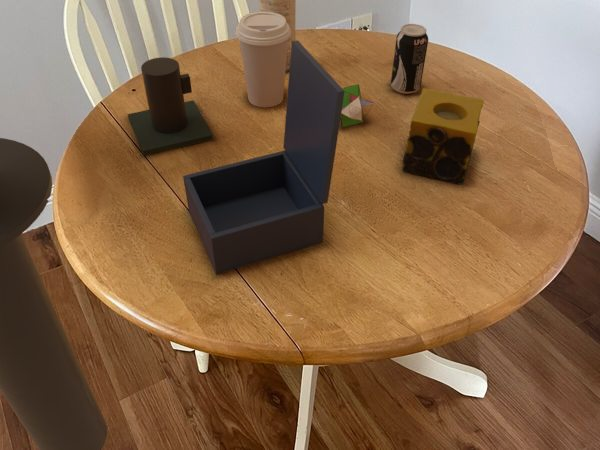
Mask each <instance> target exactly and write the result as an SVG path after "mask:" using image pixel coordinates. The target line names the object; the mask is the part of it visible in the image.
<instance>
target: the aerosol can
mask: <svg viewBox="0 0 600 450" xmlns="http://www.w3.org/2000/svg"><path fill="white" fill-rule="evenodd" d="M258 3H259V12H261V11H267V12H274V13H277V14H280V15H282V16H283V17H284V18H285V19H286V22H287V23H288V25H289V27H290V30H291V35H290V37H289V38H288V44H287V55H286V68H285V73H288V72H289V71H290V59H291V47H292V41H296V12H297V11H296V6H297V5H296V4H297V3H296V0H259V2H258Z"/></svg>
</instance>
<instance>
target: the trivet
mask: <svg viewBox="0 0 600 450" xmlns="http://www.w3.org/2000/svg"><path fill="white" fill-rule="evenodd" d="M184 102H185V109H186V116H187V122H188V123H187V126H186V127H185V128H184V129H183V130H181V131H179V132H177V133H172V134H163V133H159V132H157V131H155V130H154V129H153V126H152V121H151V116H150V111H149V109H145V110H139V111H136V112H131V113H127V117H128V120H129V122H130V126H131V127H132V130H133V133H134V135H135V138H136V140H137V143H138V145H139V148H140V151H141V154H142V156H145V157H146V156H149V155H153V154H157V153H162V152H166V151H170V150H174V149H179V148H183V147H187V146H191V145H195V144H200V143H204V142H209V141H212V140H213V141H214V135H213V133H212V131H211V129H210V127H209V125H208V124H207V122H206V120H205V119H204V117H203V115H202V113H201V111H200V109H199V107H198V106H197V104H196V102H195V100H188V101H184Z"/></svg>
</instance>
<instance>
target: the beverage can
mask: <svg viewBox="0 0 600 450" xmlns="http://www.w3.org/2000/svg"><path fill="white" fill-rule="evenodd" d="M428 44H429V36H428V34H427V28H426V27H425V26H423V25H422V24H418V23H407V24H404V25H402V26H401V27H400V31H398V33H397V34H396V39H395V47H394V52H393V53H394V54H393V63H392V69H391V78H390V87H391V88H392V89H393V90H394V91H396V92H397V93H400V94H403V95H409V94H413V93H416V92H418V91H419V90H420V89H421V87H422V80H423V75H424V70H425V69H424V68H425V63H426V58H427V52H428V51H427V50H428Z"/></svg>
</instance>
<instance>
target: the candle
mask: <svg viewBox="0 0 600 450" xmlns="http://www.w3.org/2000/svg"><path fill="white" fill-rule="evenodd" d="M484 103H485V100H484V99H483V98H477V97H471V96H465V95H461V94H455V93H450V92H446V91H442V90H436V89H431V88H425V87H423V88H422V90H421V92H420V96H419V99H418V102H417V105H416V108H415V110H414V113H413V115H412V117H411V121H410V127H409V133H408V138H407V145H406V149H405V152H404V156H403V160H402V165H403V166H402V167H401V169H402V172H404V173H410V174H413V175H417V176H423V177H425V178H430V179H435V180H440V181H443V182H449V183H453V184H456V185H463V184H464V182H465V179H466V177H467V176H466V175H467V173H468V168H469V164H470V161H471V156H472V152H473V150H474V144H475V141H476V138H477V134H478V130H479V129H478V128H479V126H480V122H481V121H480V117H481V113H482V109H483V107H484Z"/></svg>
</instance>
